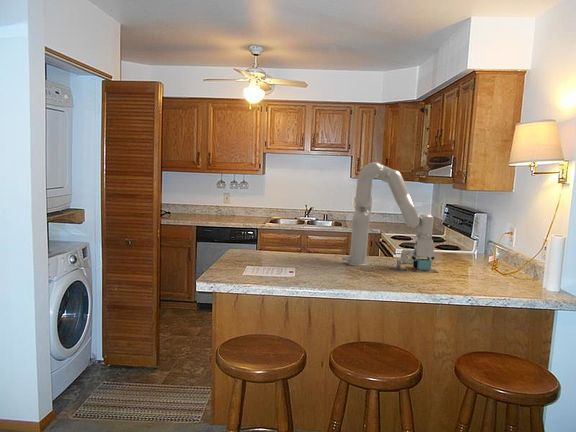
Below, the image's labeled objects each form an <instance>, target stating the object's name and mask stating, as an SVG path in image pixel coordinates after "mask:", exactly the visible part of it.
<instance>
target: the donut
mask: <svg viewBox="0 0 576 432" xmlns="http://www.w3.org/2000/svg"><path fill="white" fill-rule="evenodd" d="M413 250H414V248H405V249H404V250H402V252H401V254H400V260H401V263H403V264H406V265H412V266H413V259H412V258H409V259H408V258H407V256H408V255H409V253H410V252H412V251H413ZM413 256H415V255H414V254H413Z"/></svg>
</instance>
